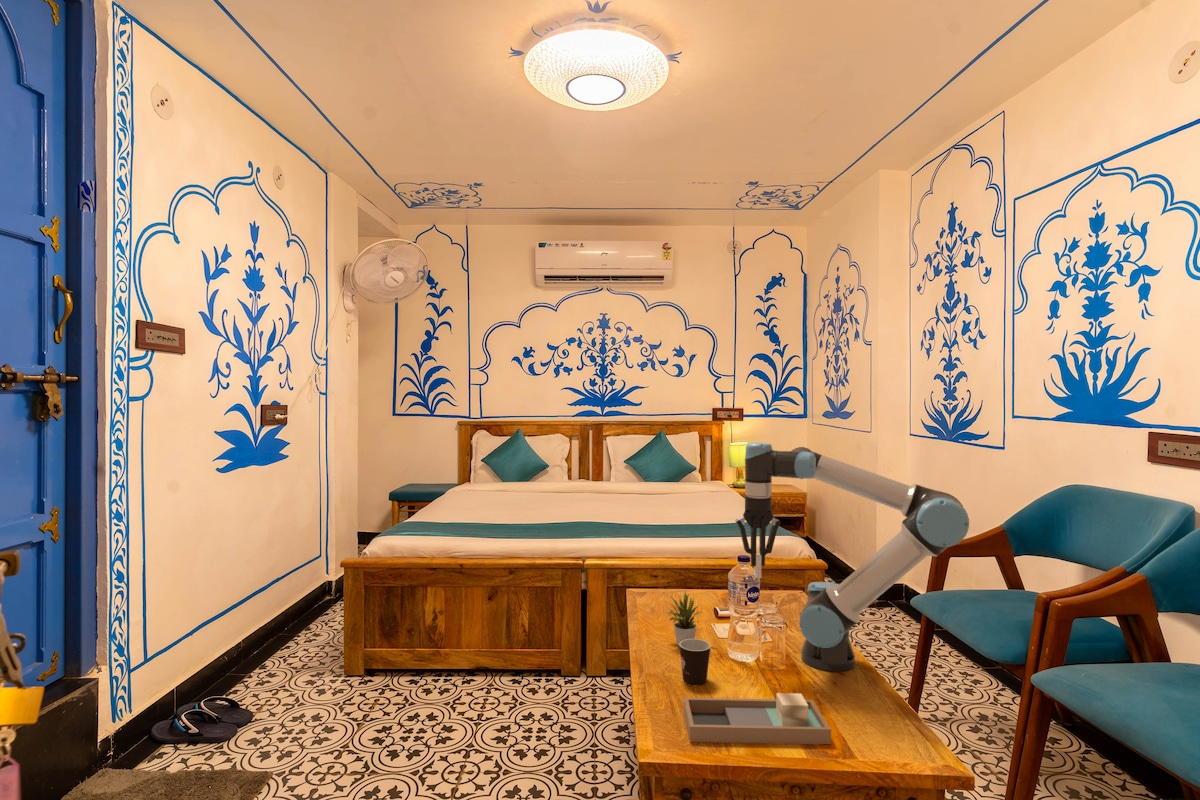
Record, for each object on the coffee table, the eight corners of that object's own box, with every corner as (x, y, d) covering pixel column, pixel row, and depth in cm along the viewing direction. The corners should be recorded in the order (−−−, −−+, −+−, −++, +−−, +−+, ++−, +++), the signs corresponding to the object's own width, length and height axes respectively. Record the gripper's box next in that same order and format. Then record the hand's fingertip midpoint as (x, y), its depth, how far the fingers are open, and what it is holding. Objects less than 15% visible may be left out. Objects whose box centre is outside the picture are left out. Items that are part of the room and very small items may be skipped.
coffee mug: (709, 689, 174) (710, 652, 173) (677, 686, 175) (678, 649, 175) (711, 670, 185) (711, 636, 185) (681, 668, 187) (681, 633, 186)
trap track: (812, 713, 160) (812, 699, 160) (830, 744, 146) (831, 729, 146) (683, 711, 161) (683, 697, 161) (689, 741, 147) (689, 726, 147)
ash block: (801, 714, 156) (801, 693, 156) (808, 726, 150) (808, 705, 150) (776, 713, 156) (776, 693, 156) (782, 726, 150) (782, 705, 150)
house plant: (659, 634, 212) (659, 585, 212) (701, 635, 212) (702, 585, 212) (662, 651, 198) (662, 599, 198) (707, 652, 198) (707, 599, 198)
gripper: (777, 494, 190) (777, 573, 191) (733, 493, 191) (733, 573, 191) (784, 498, 183) (783, 581, 183) (738, 498, 183) (737, 580, 184)
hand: (757, 576), depth 187 cm, fingers closed
